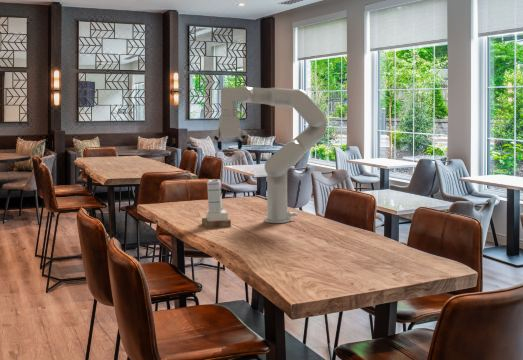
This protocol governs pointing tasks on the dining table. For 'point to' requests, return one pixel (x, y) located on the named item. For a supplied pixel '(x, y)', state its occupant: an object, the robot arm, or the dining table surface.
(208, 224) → the walnut slab
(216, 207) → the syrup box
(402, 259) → the dining table surface
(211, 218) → the white slab
